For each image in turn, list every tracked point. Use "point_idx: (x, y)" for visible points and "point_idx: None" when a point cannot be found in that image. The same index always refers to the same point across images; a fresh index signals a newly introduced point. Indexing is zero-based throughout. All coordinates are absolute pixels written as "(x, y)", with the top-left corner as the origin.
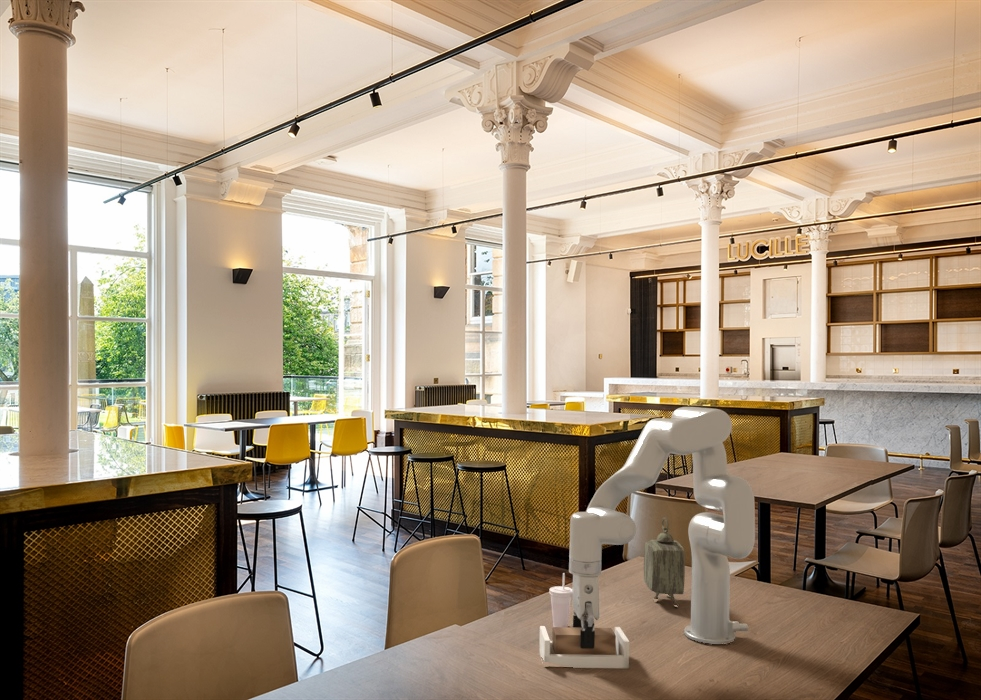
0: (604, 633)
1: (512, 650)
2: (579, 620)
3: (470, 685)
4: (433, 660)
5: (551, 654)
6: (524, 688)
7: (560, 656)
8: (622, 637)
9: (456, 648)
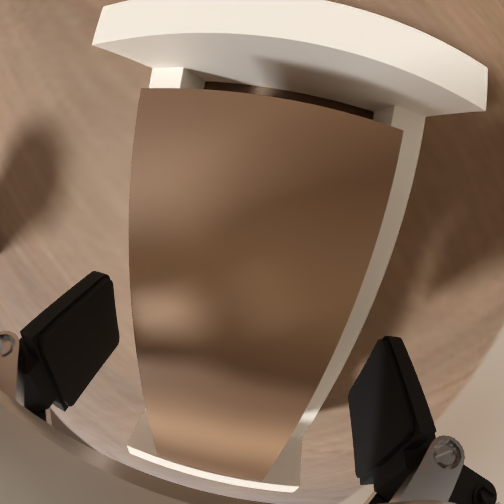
0: (311, 237)
1: None
2: (72, 367)
3: (335, 492)
4: None
5: None
6: None
7: (315, 415)
8: (391, 55)
9: (165, 471)
